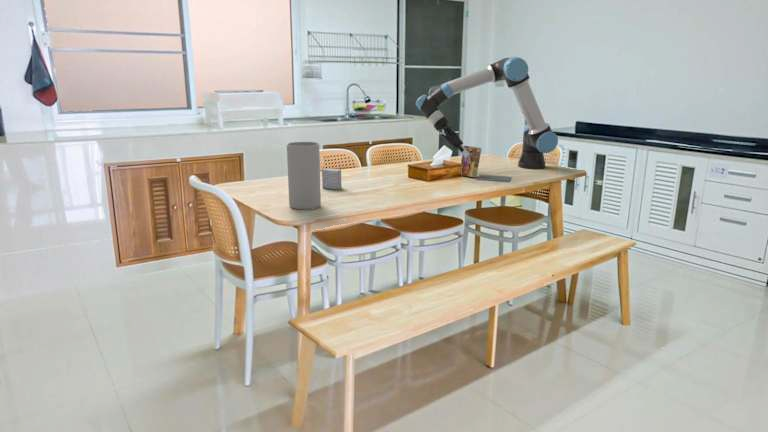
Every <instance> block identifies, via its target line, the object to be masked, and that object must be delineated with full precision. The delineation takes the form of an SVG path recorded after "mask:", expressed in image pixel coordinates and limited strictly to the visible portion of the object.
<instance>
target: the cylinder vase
mask: <svg viewBox="0 0 768 432" xmlns="http://www.w3.org/2000/svg"><path fill="white" fill-rule="evenodd" d="M286 159H287V161H286V162H287V181H288V182H287V183H288V204H289V207H290V208H292V209H293V208H295V209H294V210H299V209H308V210H313V209H312V208H315V209H317V208H319V207H321V205H322V204H321V203H322V200H321V196H322V195H321V165H320V164H321V163H320V160H321V157H320V143H319V142H313V141H295V142H294V141H293V142H288V143H286Z"/></svg>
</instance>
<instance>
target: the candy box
mask: <svg viewBox="0 0 768 432" xmlns="http://www.w3.org/2000/svg"><path fill="white" fill-rule="evenodd" d="M463 146H464V147H465V148H466V150H467V151H468V152H469V153H470V155H468V156H467V157H466V158H465V157H464V155H463V154H462V155H461V161H460V165H461V164H462V171H461V175H460V176H466V177H470V178H477V175H478V171H479V170H478V169H479V164H480V159H481V153H482V147H478V146H471V145H463Z"/></svg>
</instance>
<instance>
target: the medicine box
mask: <svg viewBox="0 0 768 432" xmlns="http://www.w3.org/2000/svg"><path fill="white" fill-rule="evenodd" d="M321 178H322V179H321V180H322V181H321V182H322V189H325V188H330V189H329V190H339V189H341V188H342V170H341V169H338V168H337V169H336V168H324V169H322V170H321Z"/></svg>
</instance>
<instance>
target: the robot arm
mask: <svg viewBox="0 0 768 432" xmlns="http://www.w3.org/2000/svg"><path fill="white" fill-rule="evenodd" d="M530 77H531V76H530V75H529V66H528V63H527V62H526V60H525V59H523V58H521V57H518V56H511V57H505V58H502V59H500V60H498V61H496V62H494V63H490V64H489V65H487V67H485V68H483V69H479V70H477V71H473V72H471V73H468V74H466V75H464V76H460V77H457V78H454V79H452V80H450V81H447V82H443V83H440V84H438V85H434V86H431V87H430V89H429V90H428V95H427V94H422V95H421V96H419V97H418V98H417V100H416V101H415V106H416V107H417V108H418V110H419V111H420V113H421V114H422V115H423V116H424V117H425V118H426V119H427V120H428V122H429V124H431V126H433V128H434V129H435V131H437V132H441V136H442V137H443V138H445V139H446V140H447V142H449V144H451V145H452V146H453V148H455V150H456V149H457V150H458V151H459V152H460V153H461V154H462V155H464V157H465V158H466V157H467V156H468V155H470V153H469V152H468V151H467V150H466V148H465V147H464V146H465V145H463V144H464V142H463V141H462V139H461V138H460V136H459V135H458V134H457V133H456V131H455V129H454V128H451V126H449V125H448V124H449V120H448V119H447V118H446V117H445V115H444V114H443V113H442V111H441V110H440V109H439V108H438V107H440V106H441V105H442V104H444V103H445V102H446V101H447V100H449V99H450V98H451V97H452V96H454V95H457V94H459V93H463V92H465V91H468V90H471V89H474V88H476V87H480V86H482V85H485V84H488V83H496V82H502V81H505V83H506V85H507V88H508V89H511V90H512V91H513V94H514V97H515V99H516V102H517V103H518V106H519V107H520V110H521V112H522V115H523V117H524V120H525V121H526V124H527V126H525V127H524V129H523V138H522V140H523V141H522V150H521V155H520V158H519V160H518V163H517V166H518V167H519V168H524V169H532V170H533V169H534V170H538V169H544V168H546V159H545V156H544V154H548V153H551V152H553V151H555V149H556V148H557V147H558V144H559V138H558V135H557V134H556V133H555V132H553V131H552V128H551V125H550V123H547V122H546V121H545V119H544V116H543V114H542V112H541V110H540V109H541V108H540V107H539V105H538V102H537V100H536V97H535V95H534V93H533V90H532V88H531V85H530V83H529V81H530Z"/></svg>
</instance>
